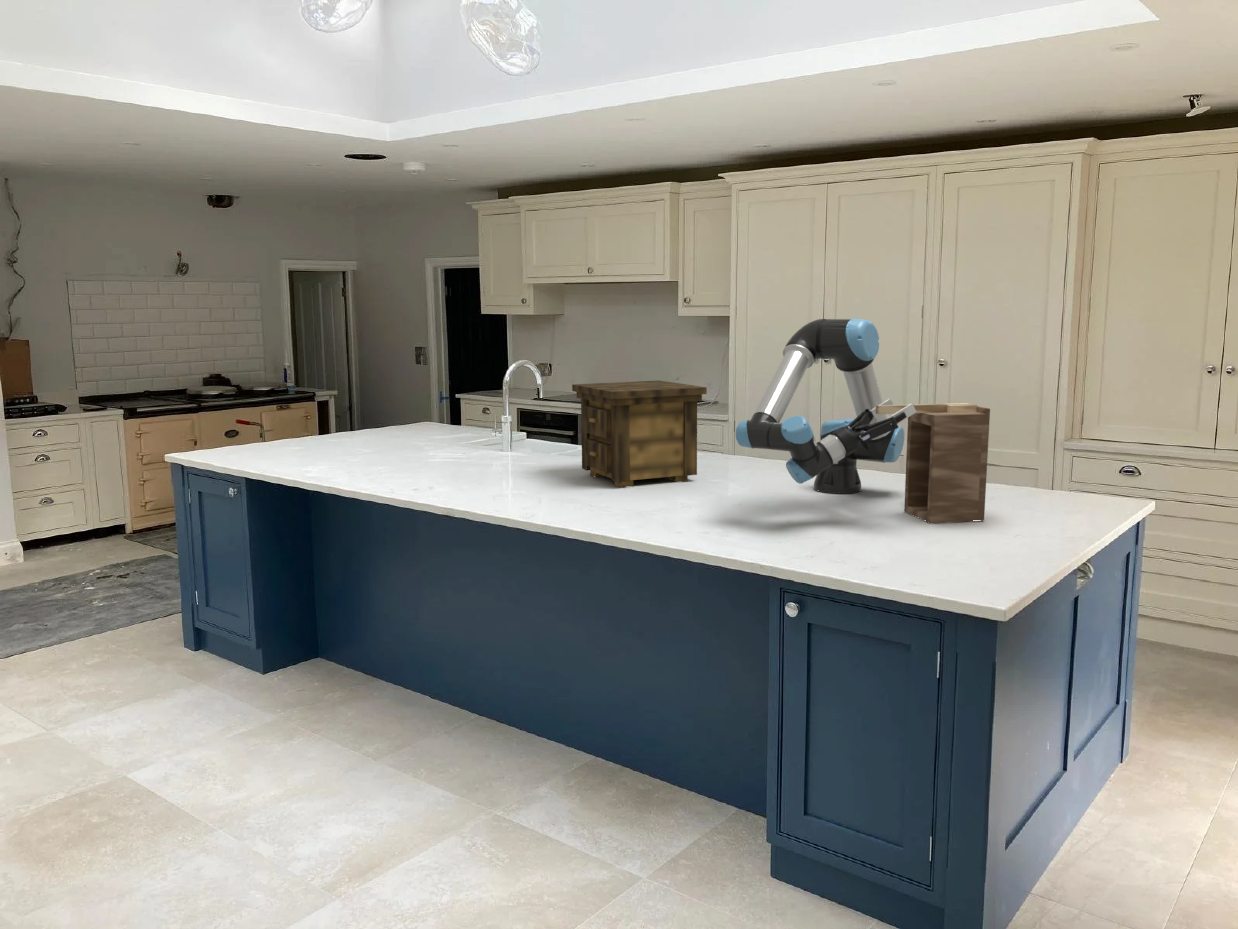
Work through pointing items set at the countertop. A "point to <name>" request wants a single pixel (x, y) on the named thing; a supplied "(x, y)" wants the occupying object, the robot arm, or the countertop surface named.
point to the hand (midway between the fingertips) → (902, 404)
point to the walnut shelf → (947, 465)
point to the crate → (639, 429)
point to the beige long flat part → (929, 408)
